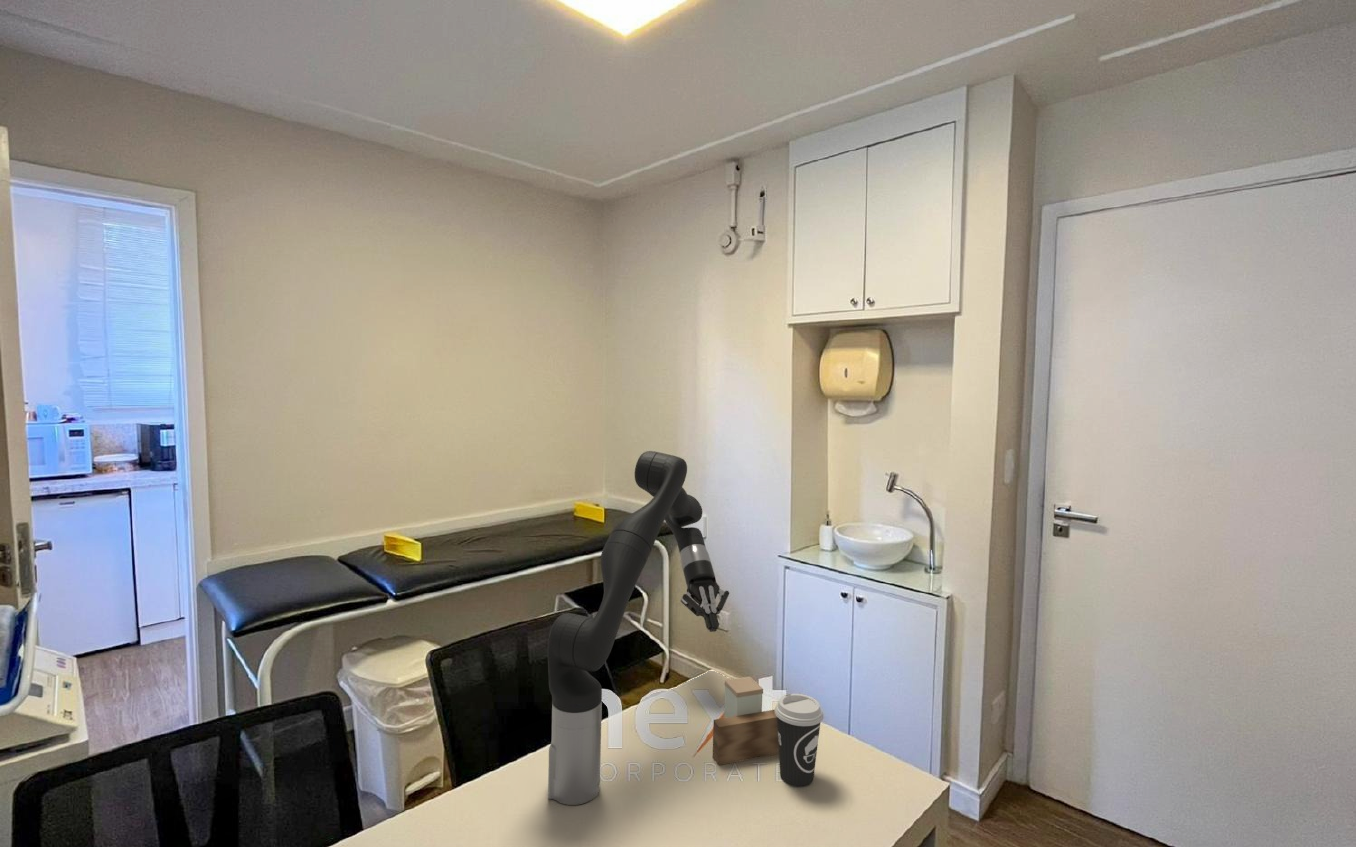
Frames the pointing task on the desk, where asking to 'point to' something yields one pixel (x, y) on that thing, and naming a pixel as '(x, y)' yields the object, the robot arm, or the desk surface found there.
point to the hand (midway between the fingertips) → (714, 630)
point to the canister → (742, 697)
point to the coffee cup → (798, 737)
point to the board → (745, 737)
